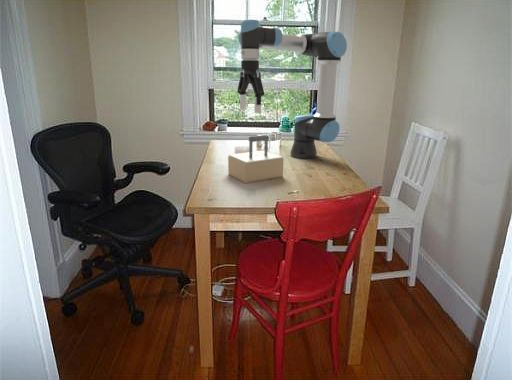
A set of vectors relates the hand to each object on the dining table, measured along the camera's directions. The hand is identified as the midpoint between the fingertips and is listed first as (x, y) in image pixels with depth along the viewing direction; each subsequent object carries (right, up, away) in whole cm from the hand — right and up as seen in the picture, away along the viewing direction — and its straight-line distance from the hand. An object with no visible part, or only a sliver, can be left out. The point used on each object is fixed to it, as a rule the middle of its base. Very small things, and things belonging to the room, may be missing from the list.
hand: (250, 111), depth 160 cm
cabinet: (+2, -28, +9) cm, 30 cm away
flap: (+4, -21, +3) cm, 22 cm away
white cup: (-4, -24, +23) cm, 33 cm away
